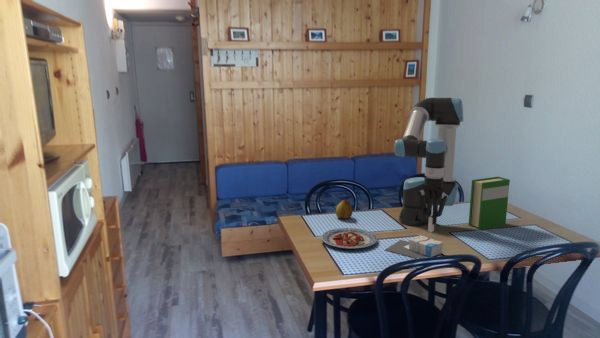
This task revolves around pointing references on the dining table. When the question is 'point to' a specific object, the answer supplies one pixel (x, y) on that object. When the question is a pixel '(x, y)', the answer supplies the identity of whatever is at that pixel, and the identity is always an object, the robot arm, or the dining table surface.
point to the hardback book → (488, 202)
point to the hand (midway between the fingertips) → (430, 230)
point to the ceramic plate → (349, 238)
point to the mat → (404, 250)
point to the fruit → (344, 209)
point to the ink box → (425, 246)
